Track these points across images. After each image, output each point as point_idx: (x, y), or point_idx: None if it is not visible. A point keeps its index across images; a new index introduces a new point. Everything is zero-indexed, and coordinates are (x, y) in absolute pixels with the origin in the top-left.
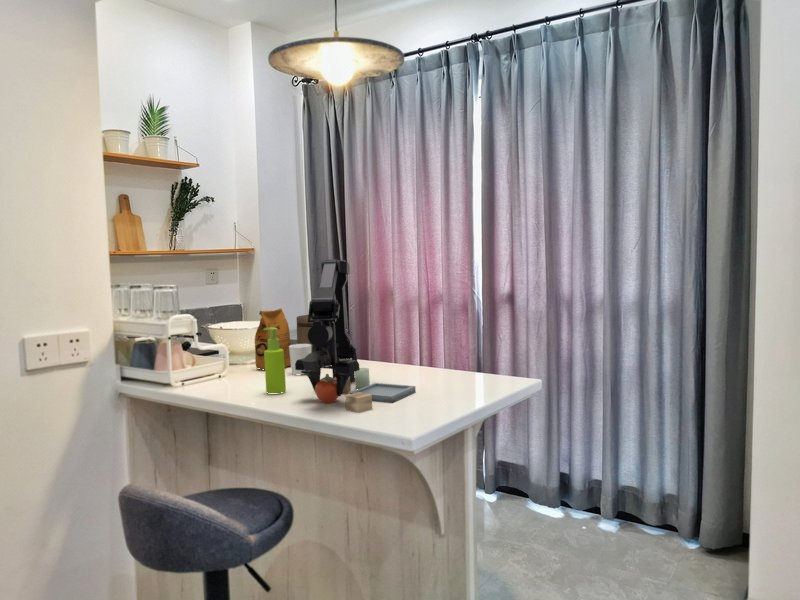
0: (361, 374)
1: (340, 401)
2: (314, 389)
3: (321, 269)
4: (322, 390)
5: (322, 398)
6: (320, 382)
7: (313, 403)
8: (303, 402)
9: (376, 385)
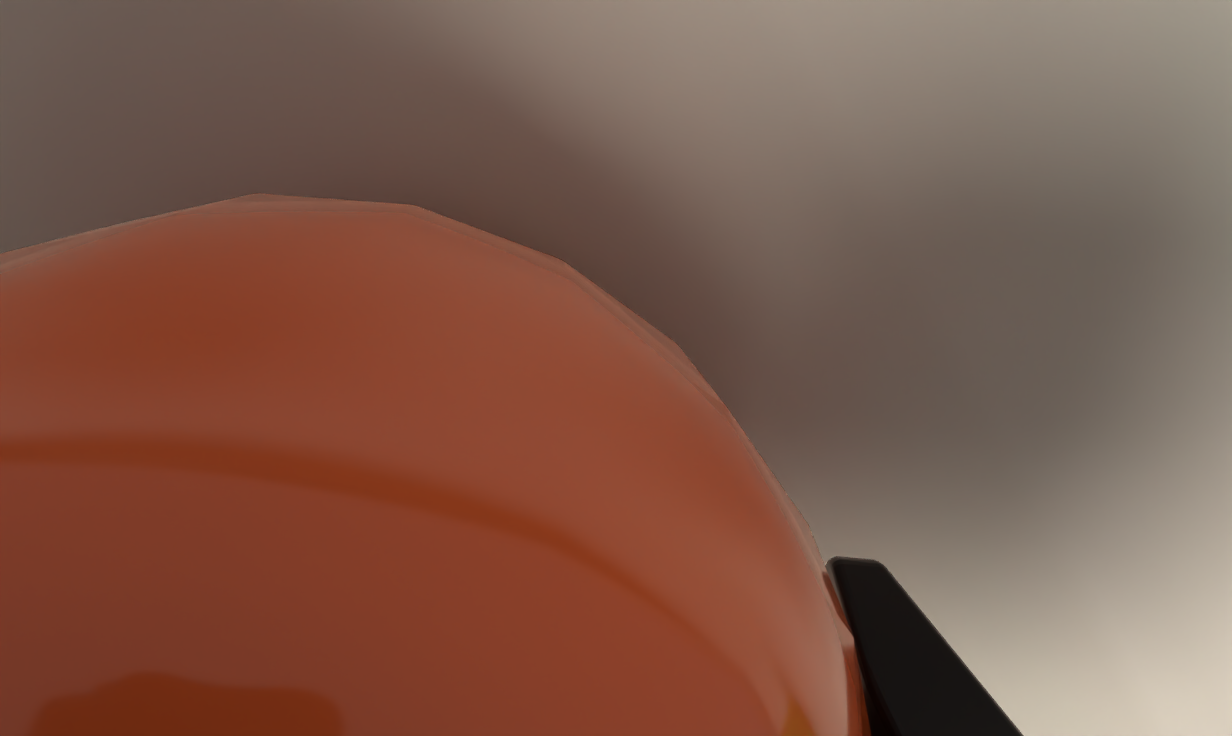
0: None
1: None
2: (941, 684)
3: None
4: (37, 328)
5: (320, 198)
6: None
7: (763, 109)
8: (1207, 143)
9: None
